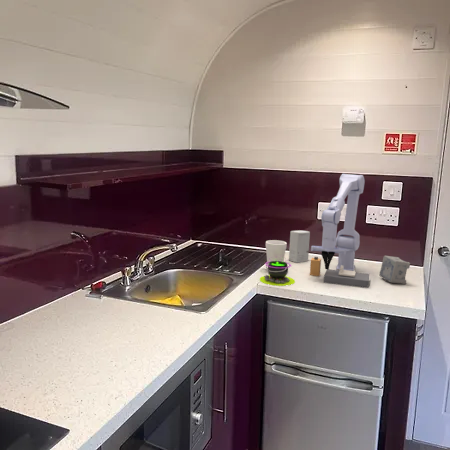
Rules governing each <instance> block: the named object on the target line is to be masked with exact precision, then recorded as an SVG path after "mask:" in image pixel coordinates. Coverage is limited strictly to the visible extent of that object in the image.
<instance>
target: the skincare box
mask: <svg viewBox="0 0 450 450" xmlns="http://www.w3.org/2000/svg"><path fill="white" fill-rule="evenodd" d="M310 238H311V231H308V230H300V229H299V230H291V231H290V234H289V250H288V261H291V262H292V263H295V264H297V263H303V262H308V261H309V253H310Z"/></svg>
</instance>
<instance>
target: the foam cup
mask: <svg viewBox="0 0 450 450" xmlns="http://www.w3.org/2000/svg"><path fill="white" fill-rule="evenodd" d="M287 244H288V243H287V242H286V241H284V240H279V239H278V240H277V239H272V240H271V239H269V240H266V241H265V251H266V252H265V253H266V262H269V261H270V262H271V260H272V261H275V260H276V261H284V262H285V255H286V250H287ZM276 256H277V257H276ZM278 256H279V257H278ZM280 256H281V257H280ZM282 256H283V257H282ZM271 257H272V258H271ZM269 258H270V259H269ZM267 265H269V263H268V264H267Z"/></svg>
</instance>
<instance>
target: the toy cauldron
mask: <svg viewBox="0 0 450 450" xmlns="http://www.w3.org/2000/svg"><path fill="white" fill-rule="evenodd" d="M276 257H277V256H276ZM278 257H279V256H278ZM280 257H281V256H280ZM282 257H283V256H282ZM271 258H272V257H271ZM269 259H270V258H269ZM268 263H269V265H267V264H268ZM264 264H265V268H266V270H267V273H268V275H267V274H266V275H263V276H261V277H260V278H259V281H260V283H262V284H264V285H268V284H269V286H274V287H287V286H286V285H288V286H292V285H294V284H295V283H296V281H295V279H294V278H292V277H290V276H288V273H289V268H290V267H292V264H290V263H289V262H287V261H285V260H284V261H276V260H275V261H272V260H271V262H270V261H269V262H267V261H266V262H265V263H264ZM291 284H292V285H291Z"/></svg>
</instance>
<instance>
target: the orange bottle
mask: <svg viewBox="0 0 450 450" xmlns="http://www.w3.org/2000/svg"><path fill="white" fill-rule="evenodd" d="M321 263H322V258H320V257H318V256H314V257H312V258H311V259H310V267H309V276H313V277H320V275H321V267H322V266H321V265H322V264H321Z"/></svg>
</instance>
